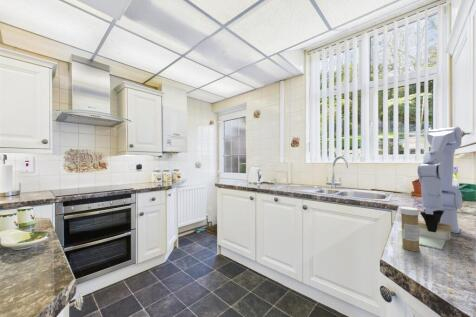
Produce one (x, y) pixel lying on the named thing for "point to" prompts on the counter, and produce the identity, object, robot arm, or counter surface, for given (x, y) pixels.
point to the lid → (440, 226)
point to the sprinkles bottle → (410, 228)
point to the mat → (431, 242)
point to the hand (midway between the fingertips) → (433, 230)
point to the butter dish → (435, 234)
